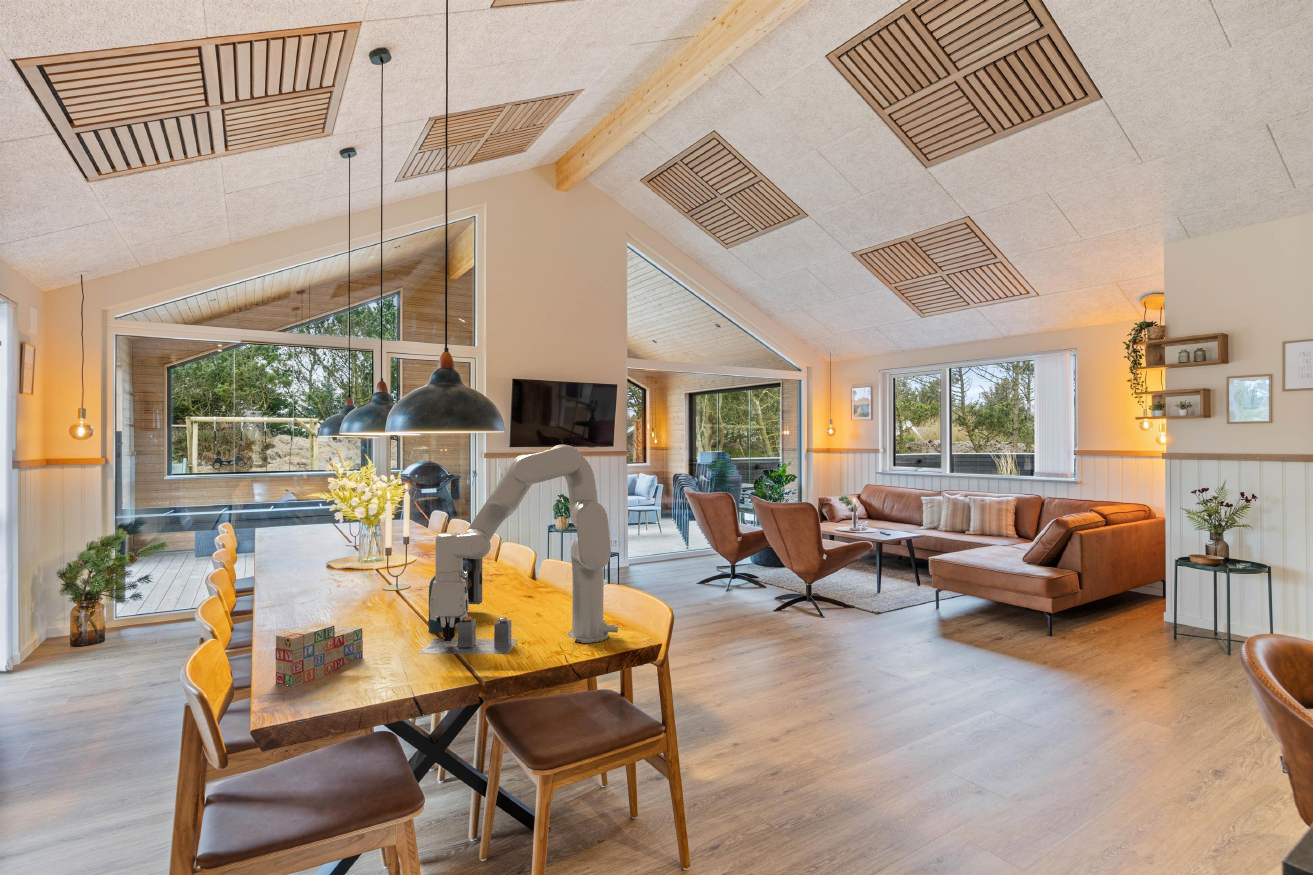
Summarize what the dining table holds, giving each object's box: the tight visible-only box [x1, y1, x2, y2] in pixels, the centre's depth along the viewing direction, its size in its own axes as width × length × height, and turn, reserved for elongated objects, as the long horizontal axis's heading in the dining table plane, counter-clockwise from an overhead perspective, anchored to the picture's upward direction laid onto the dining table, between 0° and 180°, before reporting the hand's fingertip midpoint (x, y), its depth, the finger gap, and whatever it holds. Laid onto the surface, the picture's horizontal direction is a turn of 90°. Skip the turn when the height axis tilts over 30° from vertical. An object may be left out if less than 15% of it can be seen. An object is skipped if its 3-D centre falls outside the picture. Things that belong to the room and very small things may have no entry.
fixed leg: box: [493, 616, 512, 648], centre depth 196 cm, size 4×4×8 cm
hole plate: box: [417, 638, 519, 655], centre depth 196 cm, size 25×14×1 cm, turn 90°
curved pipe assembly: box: [427, 558, 483, 634], centre depth 223 cm, size 35×9×21 cm, turn 176°
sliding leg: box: [457, 615, 477, 647], centre depth 196 cm, size 4×4×8 cm
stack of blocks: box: [274, 622, 364, 687], centre depth 178 cm, size 21×6×12 cm, turn 155°
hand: (448, 639), depth 196 cm, fingers closed
